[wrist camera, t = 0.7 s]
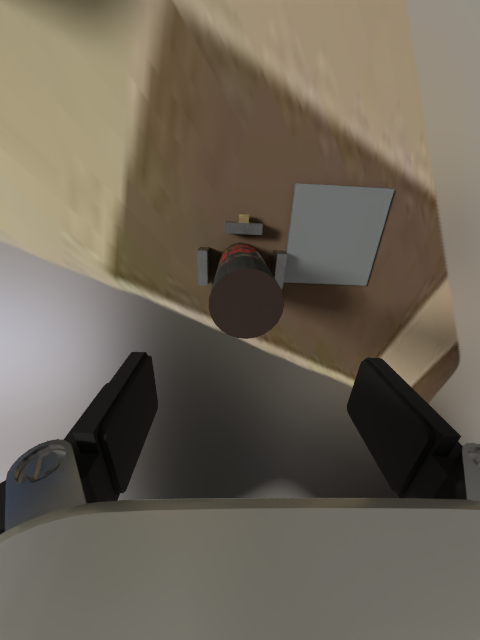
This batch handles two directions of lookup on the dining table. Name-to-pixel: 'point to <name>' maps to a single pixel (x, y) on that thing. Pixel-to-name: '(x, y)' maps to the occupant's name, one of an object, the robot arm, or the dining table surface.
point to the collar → (240, 228)
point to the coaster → (334, 233)
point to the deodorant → (245, 294)
